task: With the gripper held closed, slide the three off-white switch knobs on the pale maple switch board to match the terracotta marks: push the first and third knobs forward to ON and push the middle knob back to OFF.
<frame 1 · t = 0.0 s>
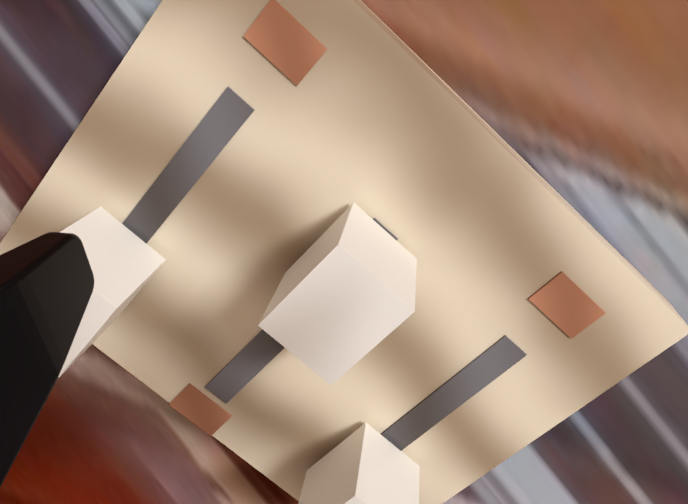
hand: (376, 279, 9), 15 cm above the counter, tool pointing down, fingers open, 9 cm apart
switch b: (342, 289, 21), point 5 cm above the counter, slide at 7.0 cm
switch board: (327, 269, 26), on the counter
switch c: (80, 288, 22), point 5 cm above the counter, slide at 0.0 cm
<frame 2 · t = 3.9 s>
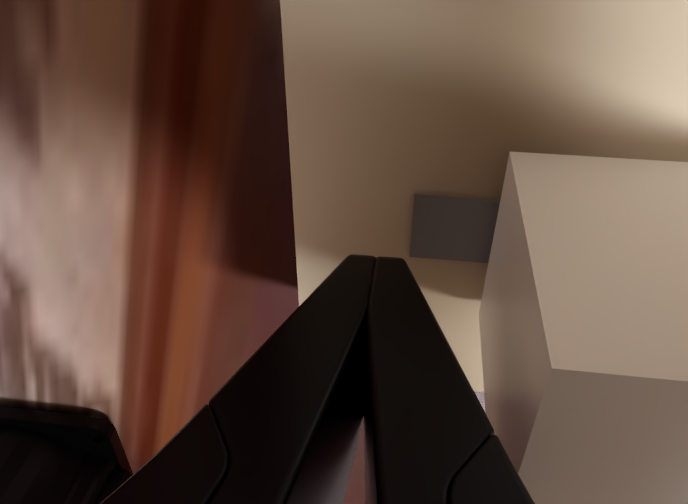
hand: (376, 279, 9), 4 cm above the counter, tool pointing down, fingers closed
switch a: (661, 347, 8), point 5 cm above the counter, slide at 1.3 cm, touching gripper
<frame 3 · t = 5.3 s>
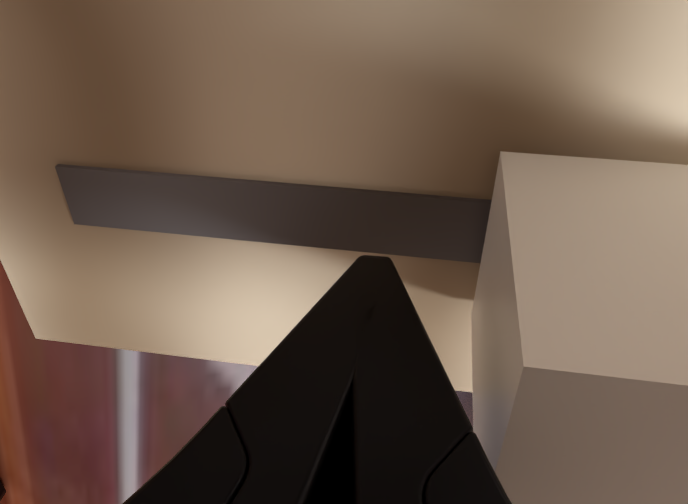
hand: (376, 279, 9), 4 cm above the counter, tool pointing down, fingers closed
switch a: (647, 349, 8), point 5 cm above the counter, slide at 7.3 cm, touching gripper
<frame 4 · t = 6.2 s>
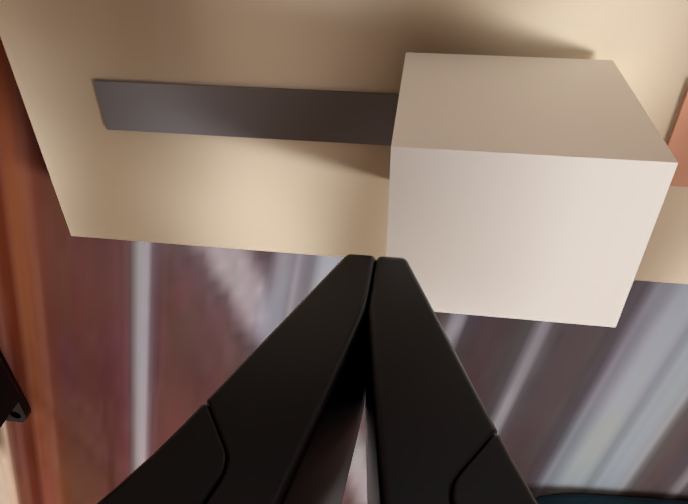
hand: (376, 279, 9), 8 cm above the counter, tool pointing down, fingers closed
switch a: (502, 179, 11), point 5 cm above the counter, slide at 7.1 cm
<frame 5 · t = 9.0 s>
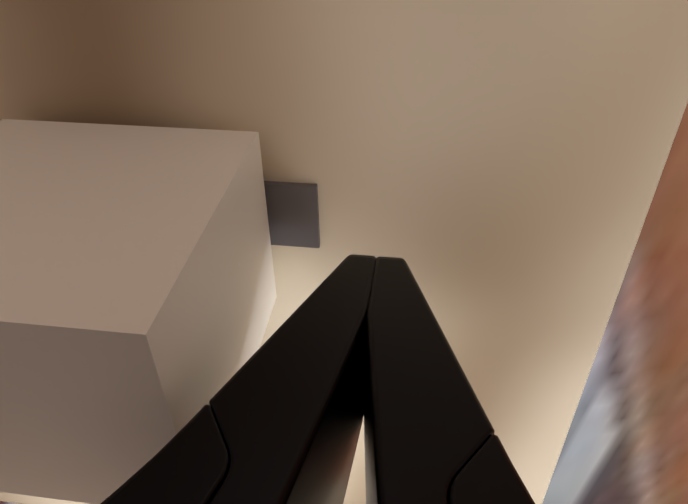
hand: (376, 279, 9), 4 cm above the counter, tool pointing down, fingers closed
switch b: (91, 297, 8), point 5 cm above the counter, slide at 6.2 cm, touching gripper
switch board: (146, 134, 12), on the counter
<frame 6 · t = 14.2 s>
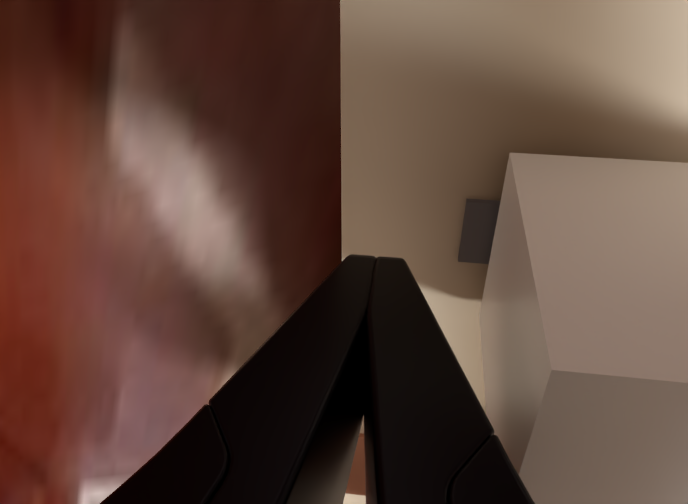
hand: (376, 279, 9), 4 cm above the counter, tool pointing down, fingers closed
switch c: (661, 347, 8), point 5 cm above the counter, slide at 0.5 cm, touching gripper
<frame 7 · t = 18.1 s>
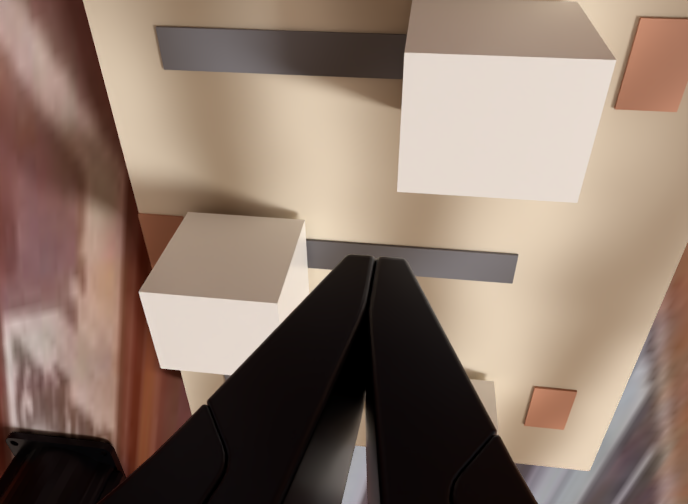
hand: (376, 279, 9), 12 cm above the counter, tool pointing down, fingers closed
switch b: (234, 292, 19), point 5 cm above the counter, slide at -0.1 cm
switch board: (400, 218, 22), on the counter
switch c: (489, 93, 14), point 5 cm above the counter, slide at 7.1 cm
switch a: (438, 445, 22), point 5 cm above the counter, slide at 7.1 cm
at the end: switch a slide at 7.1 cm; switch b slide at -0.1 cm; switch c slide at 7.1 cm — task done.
